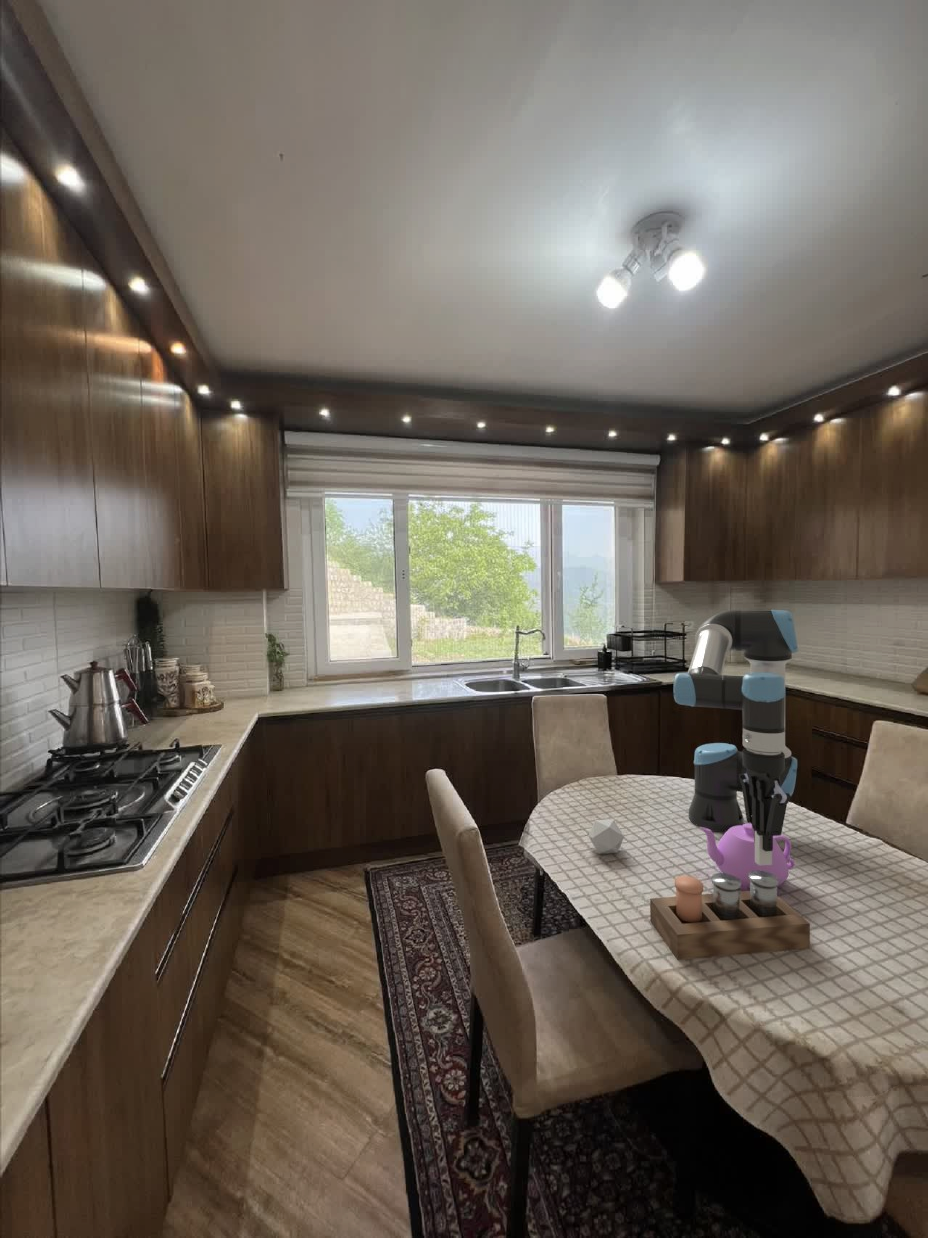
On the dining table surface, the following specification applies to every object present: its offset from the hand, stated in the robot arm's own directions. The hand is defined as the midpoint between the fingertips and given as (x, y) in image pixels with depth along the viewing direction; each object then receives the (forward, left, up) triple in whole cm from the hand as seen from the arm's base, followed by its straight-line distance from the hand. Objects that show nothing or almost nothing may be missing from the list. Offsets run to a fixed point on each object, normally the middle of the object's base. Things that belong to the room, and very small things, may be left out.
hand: (763, 863), depth 107 cm
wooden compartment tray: (+8, 0, -15) cm, 16 cm away
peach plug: (+16, 0, -10) cm, 19 cm away
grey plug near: (0, 0, -10) cm, 10 cm away
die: (+20, -37, -15) cm, 45 cm away
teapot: (-8, -18, -15) cm, 25 cm away
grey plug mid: (+8, 0, -10) cm, 13 cm away
